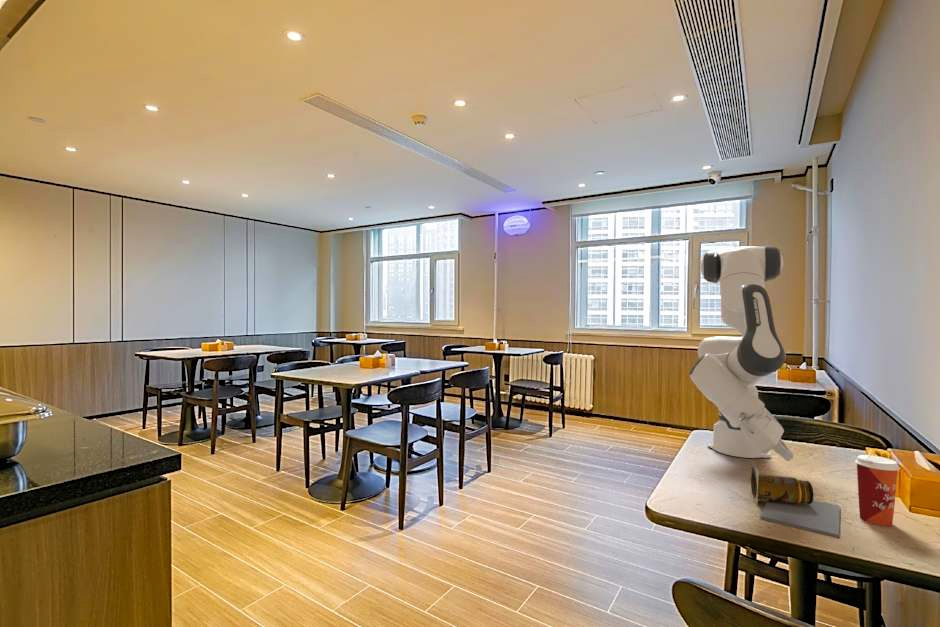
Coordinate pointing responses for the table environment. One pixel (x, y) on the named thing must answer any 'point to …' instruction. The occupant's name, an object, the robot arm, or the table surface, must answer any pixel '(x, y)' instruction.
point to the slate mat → (805, 516)
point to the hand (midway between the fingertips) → (791, 458)
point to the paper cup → (876, 489)
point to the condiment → (780, 488)
